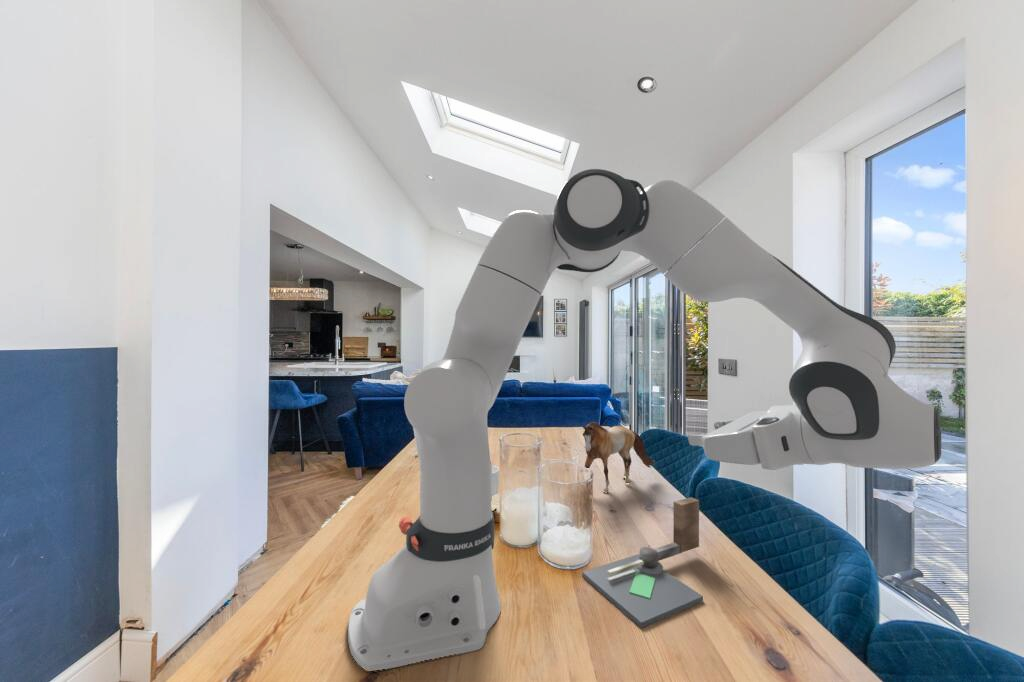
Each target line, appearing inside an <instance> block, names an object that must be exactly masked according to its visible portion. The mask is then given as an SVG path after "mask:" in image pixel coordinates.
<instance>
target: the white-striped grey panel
mask: <svg viewBox="0 0 1024 682" xmlns="http://www.w3.org/2000/svg"><path fill="white" fill-rule="evenodd" d="M638 560H640V553H637V554H635V555H631V556H628V557H625V558H621V559H619V560H615V561H613V562H609V563H605V564H603V565H600V566H596V567H593V568H591V569H588V570H584V571H582V572H581V573H582V574H581V577H582V578H583V579H584V580H586V581H587V582H588V583H589V584H591V586H593V587H594V588H595V589H596V590H597V591H598V592H600V594H601V595H603V596H604V597H605V598H606V599H608V600H609V602H611V603H612V604H613V605H614V606H615V607H617V609H619V610H620V611H621V612H623V614H625V615H626V616H627V617H628V618H629V619H630V620H632V621H633V622H634V623H635V625H637V626H639V628H642V629H643V628H645V627H647V626H649V625H651V624H654V623H656V622H658V621H660V620H662V619H665V618H667V617H670V616H672V615H674V614H677V613H679V612H681V611H684V610H686V609H688V608H690V607H693V606H695V605H698V604H700V603H702V602H704V596H703V595H702V594H701V593H699V592H697V591H696V590H694V589H693V588H692V587H689V586H688V585H687V584H686V583H684V582H682V581H681V580H680V579H677V578H676V577H674V576H673V575H672V574H670V573H668V572H667V571H665V570H664V569H663V568H664V567H663V565H662V564H661V562H659V561H658V566H657V567H655V568H649V567H645V566H643V565H642V566H639V567H636V568H633V569H630V570H627V571H624V572H621V573H618V574H615V575H612V576H609V575H608V574H607V570H610V569H613V568H616V567H620V566H623V565H626V564H629V563H632V562H635V561H638Z"/></svg>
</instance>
